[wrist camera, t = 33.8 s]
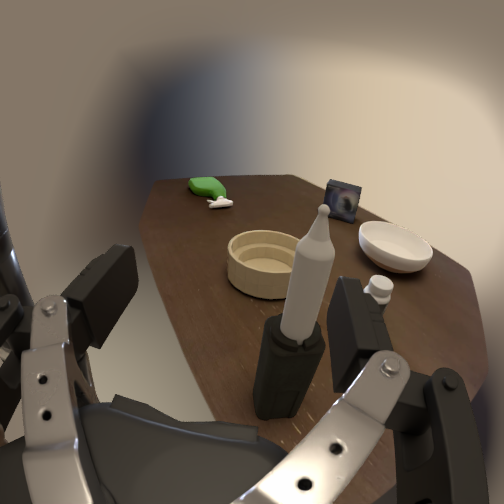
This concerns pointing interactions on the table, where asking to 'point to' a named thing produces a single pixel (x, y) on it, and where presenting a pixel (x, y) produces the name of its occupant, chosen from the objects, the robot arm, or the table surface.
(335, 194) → the small box
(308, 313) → the candle
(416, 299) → the table surface
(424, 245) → the bowl
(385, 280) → the pill bottle
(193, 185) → the spray bottle
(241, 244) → the beige round dish
